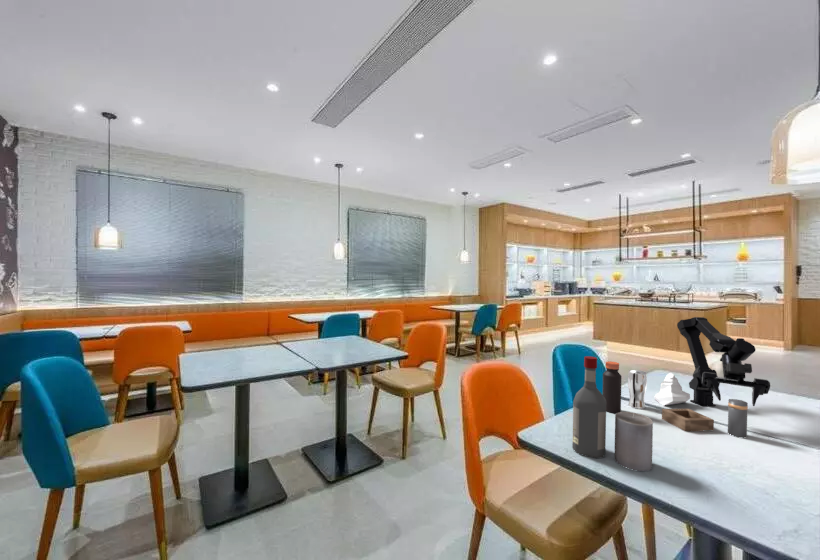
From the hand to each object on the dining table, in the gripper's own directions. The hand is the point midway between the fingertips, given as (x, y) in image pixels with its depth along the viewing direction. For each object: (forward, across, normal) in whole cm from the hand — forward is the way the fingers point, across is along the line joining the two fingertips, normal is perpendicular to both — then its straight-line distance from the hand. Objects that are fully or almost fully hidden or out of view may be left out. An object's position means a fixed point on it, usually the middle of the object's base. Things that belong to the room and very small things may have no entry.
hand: (736, 402), depth 130 cm
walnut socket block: (+10, -14, +5) cm, 18 cm away
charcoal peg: (+10, 0, +5) cm, 11 cm away
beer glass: (+2, -31, +13) cm, 34 cm away
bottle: (+10, -39, +4) cm, 41 cm away
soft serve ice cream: (-8, -19, +22) cm, 30 cm away
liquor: (+42, -41, -26) cm, 64 cm away
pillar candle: (+42, -29, -27) cm, 58 cm away
